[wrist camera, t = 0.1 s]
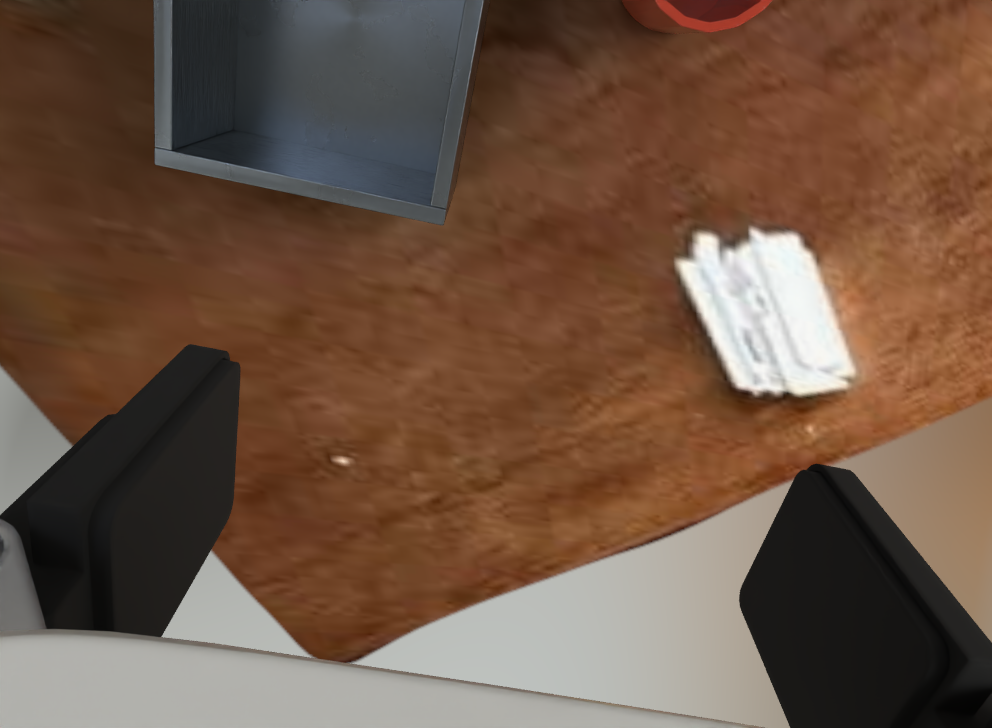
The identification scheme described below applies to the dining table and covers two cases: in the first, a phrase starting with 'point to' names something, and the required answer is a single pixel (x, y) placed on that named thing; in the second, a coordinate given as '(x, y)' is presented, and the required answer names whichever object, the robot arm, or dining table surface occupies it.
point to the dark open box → (320, 96)
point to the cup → (693, 14)
